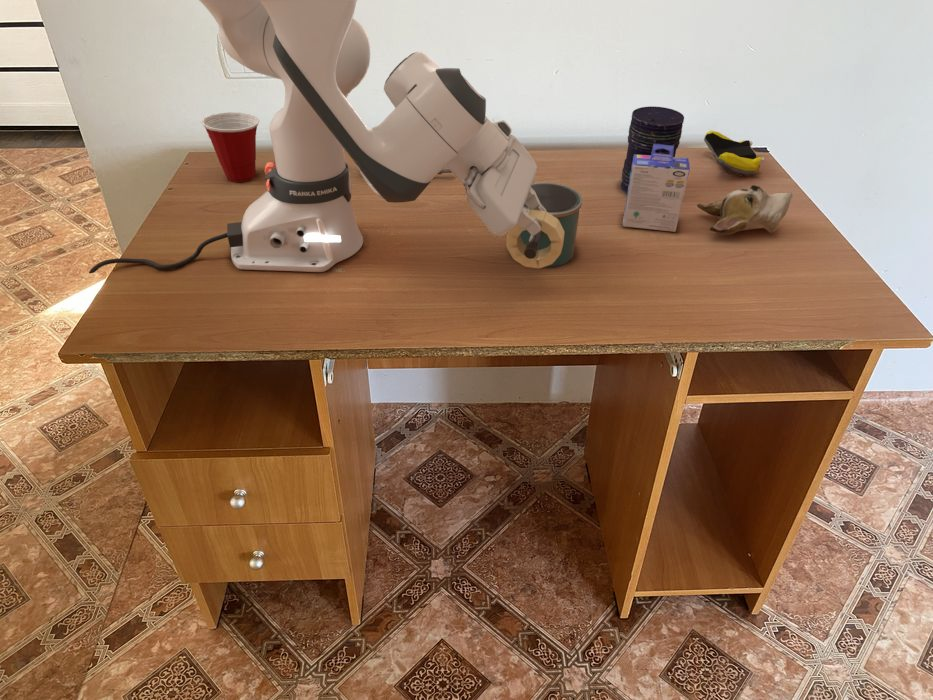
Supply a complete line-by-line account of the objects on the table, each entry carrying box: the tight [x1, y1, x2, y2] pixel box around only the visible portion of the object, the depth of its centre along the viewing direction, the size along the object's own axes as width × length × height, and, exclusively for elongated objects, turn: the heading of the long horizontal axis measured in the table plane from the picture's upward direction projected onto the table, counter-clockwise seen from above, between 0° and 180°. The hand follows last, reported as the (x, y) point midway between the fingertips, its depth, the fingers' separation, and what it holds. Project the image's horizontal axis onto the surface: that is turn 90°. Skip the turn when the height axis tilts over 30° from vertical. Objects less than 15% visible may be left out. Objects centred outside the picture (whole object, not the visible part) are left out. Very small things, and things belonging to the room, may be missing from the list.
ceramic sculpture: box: [696, 184, 793, 236], centre depth 123 cm, size 11×9×15 cm
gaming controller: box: [703, 130, 765, 178], centre depth 145 cm, size 15×6×10 cm
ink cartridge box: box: [621, 144, 691, 233], centre depth 123 cm, size 10×6×14 cm, turn 78°
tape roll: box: [506, 210, 565, 269], centre depth 105 cm, size 8×3×8 cm, turn 76°
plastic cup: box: [201, 111, 260, 183], centre depth 138 cm, size 11×11×12 cm
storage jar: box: [619, 106, 685, 195], centre depth 134 cm, size 10×10×15 cm
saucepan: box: [520, 182, 583, 268], centre depth 112 cm, size 22×12×10 cm, turn 166°
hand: (540, 223), depth 103 cm, fingers closed on tape roll, 3 cm apart
